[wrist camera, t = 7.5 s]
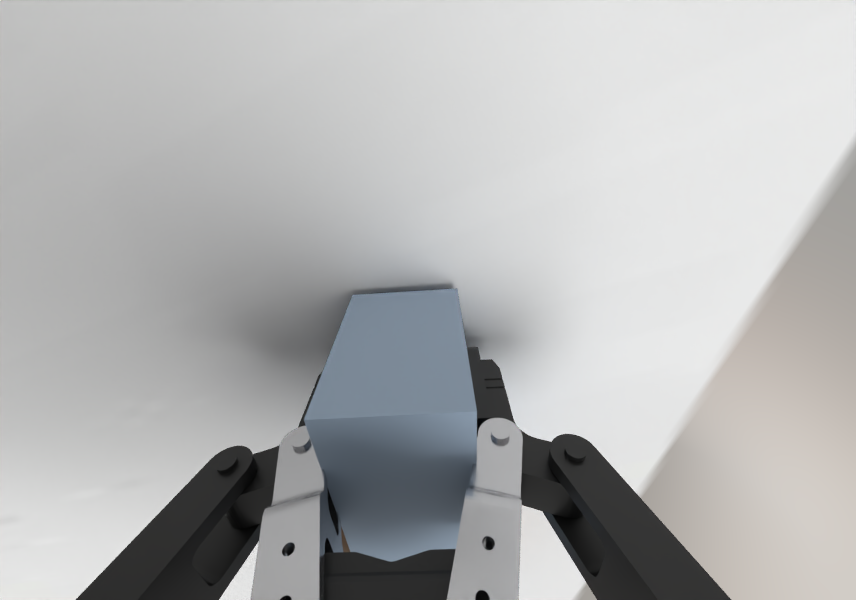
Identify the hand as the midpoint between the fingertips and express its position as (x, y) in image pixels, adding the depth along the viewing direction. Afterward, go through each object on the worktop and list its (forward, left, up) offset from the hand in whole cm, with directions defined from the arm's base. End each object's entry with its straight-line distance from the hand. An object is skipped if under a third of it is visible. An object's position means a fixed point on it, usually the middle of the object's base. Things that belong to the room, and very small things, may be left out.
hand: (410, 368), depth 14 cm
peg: (-1, -3, -1) cm, 3 cm away
